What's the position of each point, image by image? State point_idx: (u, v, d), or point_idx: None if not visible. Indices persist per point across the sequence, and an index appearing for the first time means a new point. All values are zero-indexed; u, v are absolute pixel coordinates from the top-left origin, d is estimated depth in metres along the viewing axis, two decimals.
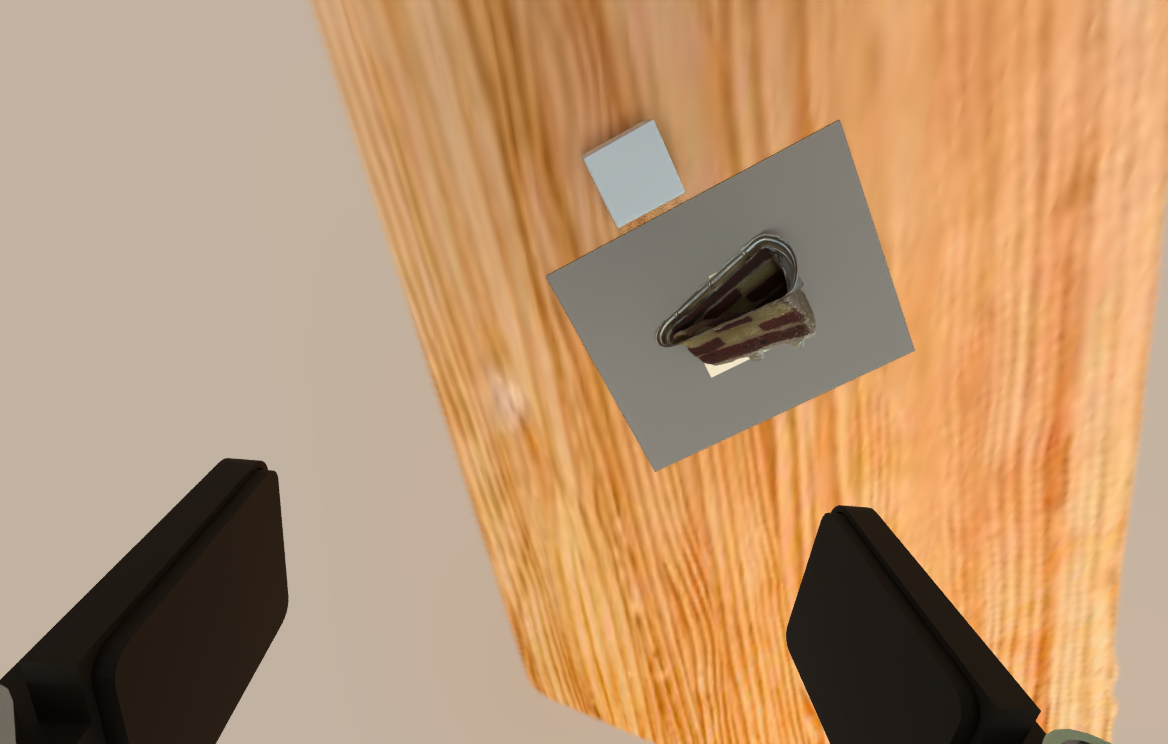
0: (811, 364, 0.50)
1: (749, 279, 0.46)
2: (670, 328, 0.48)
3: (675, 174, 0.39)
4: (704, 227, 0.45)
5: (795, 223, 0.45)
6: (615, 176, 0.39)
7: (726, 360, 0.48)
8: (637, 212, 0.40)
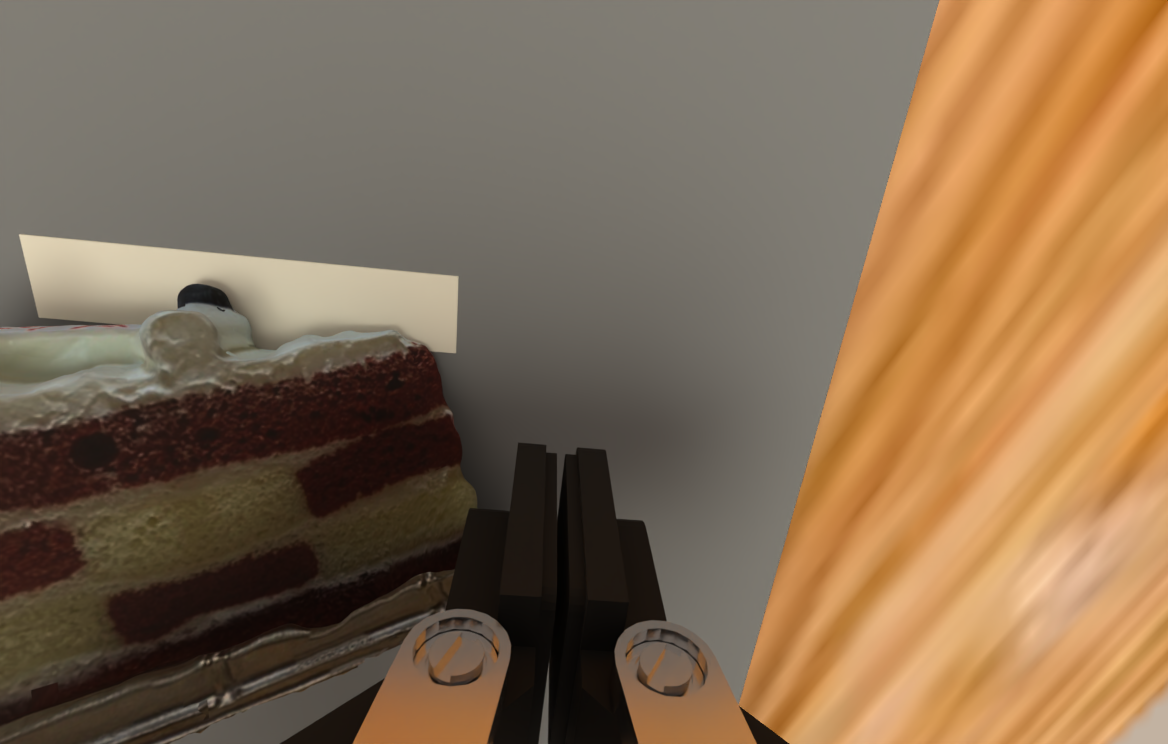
0: None
1: None
2: None
3: None
4: None
5: None
6: None
7: (333, 365, 0.11)
8: None
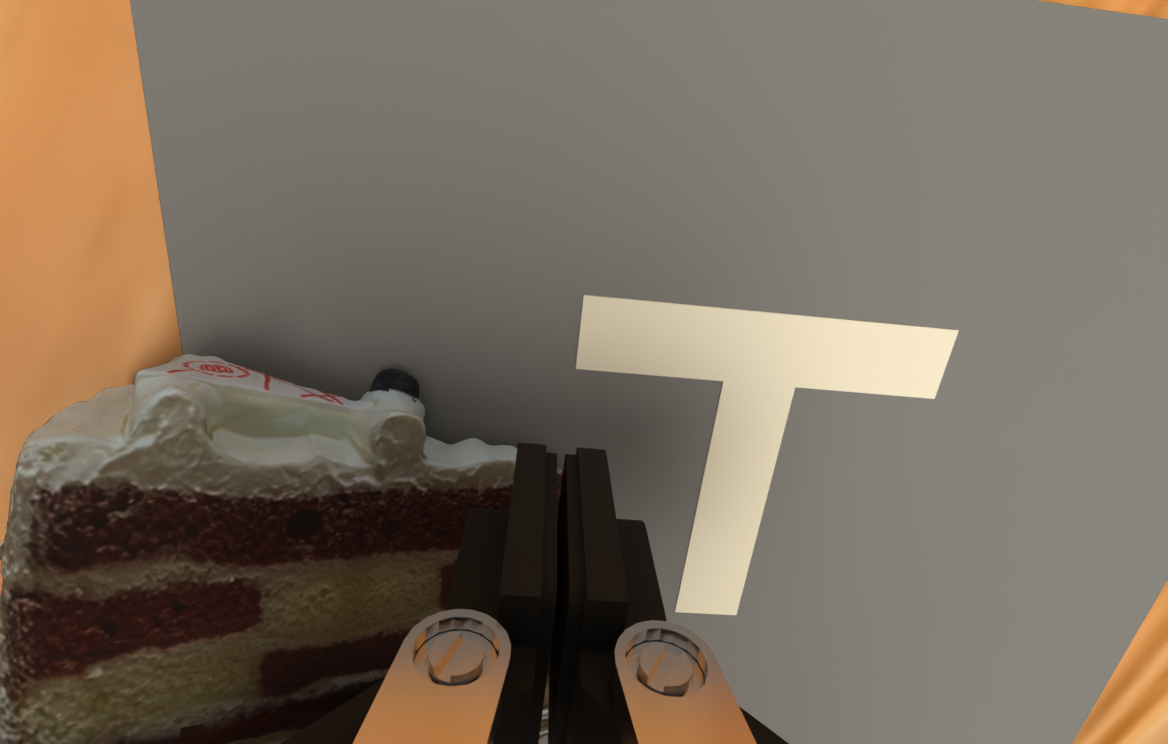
0: (607, 134, 0.11)
1: None
2: None
3: None
4: None
5: None
6: None
7: (501, 482, 0.12)
8: None
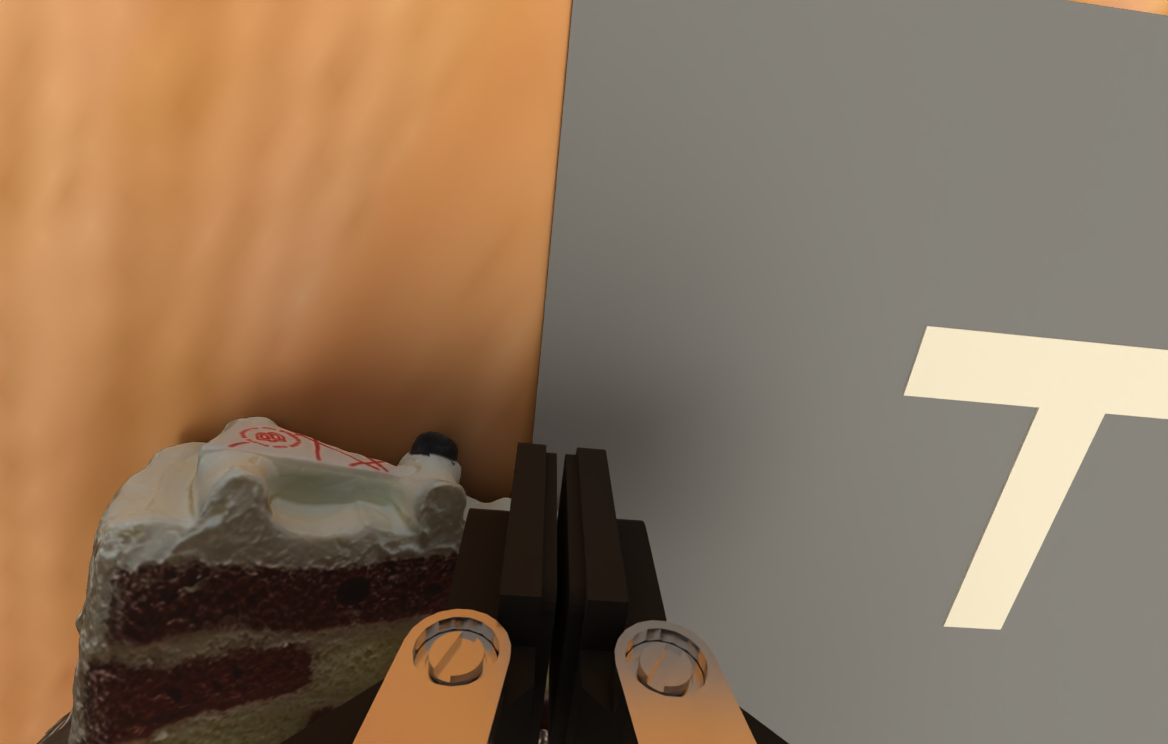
0: (979, 175, 0.12)
1: None
2: None
3: None
4: (911, 718, 0.17)
5: (720, 627, 0.16)
6: None
7: None
8: None
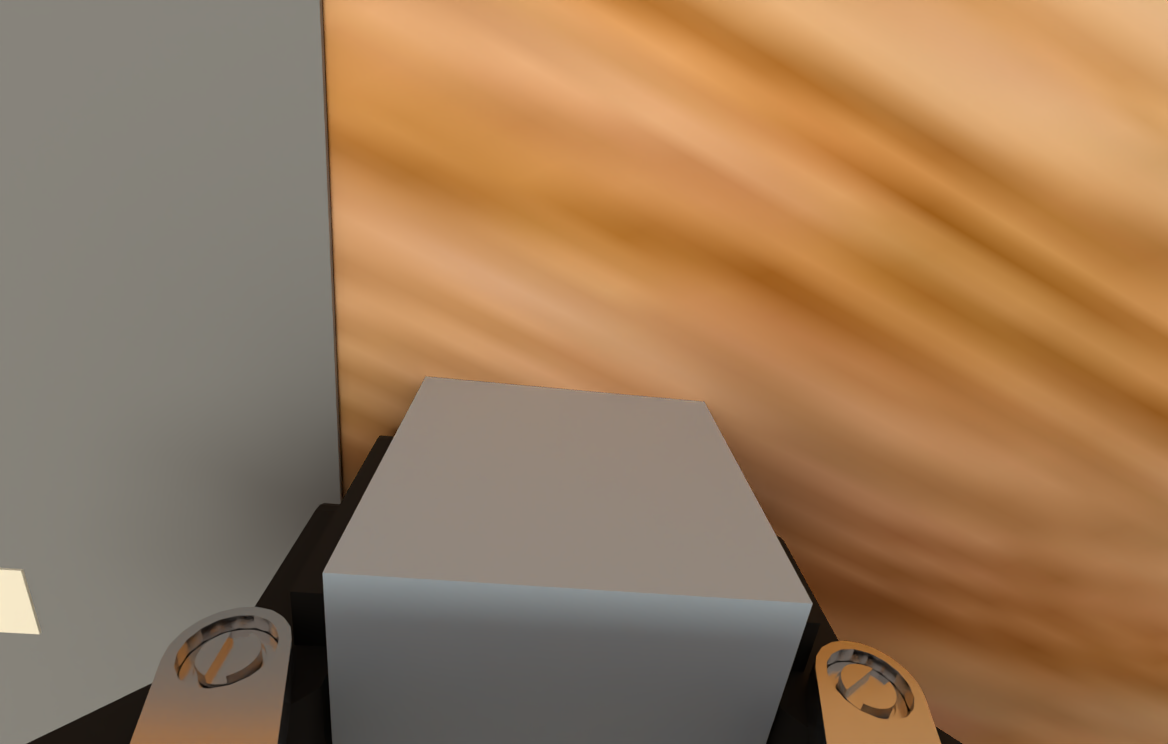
0: None
1: None
2: None
3: None
4: None
5: None
6: (615, 687, 0.07)
7: None
8: (363, 692, 0.06)
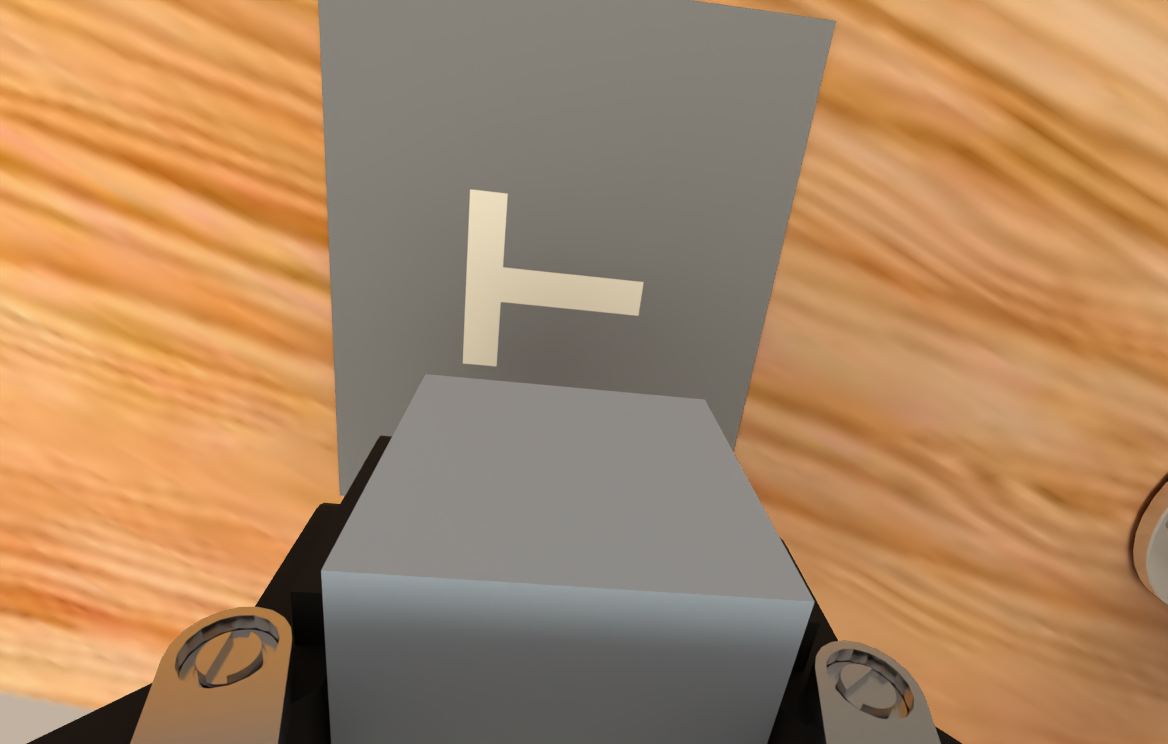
0: (398, 354, 0.28)
1: None
2: None
3: None
4: (713, 314, 0.28)
5: None
6: (615, 685, 0.07)
7: None
8: (362, 690, 0.06)
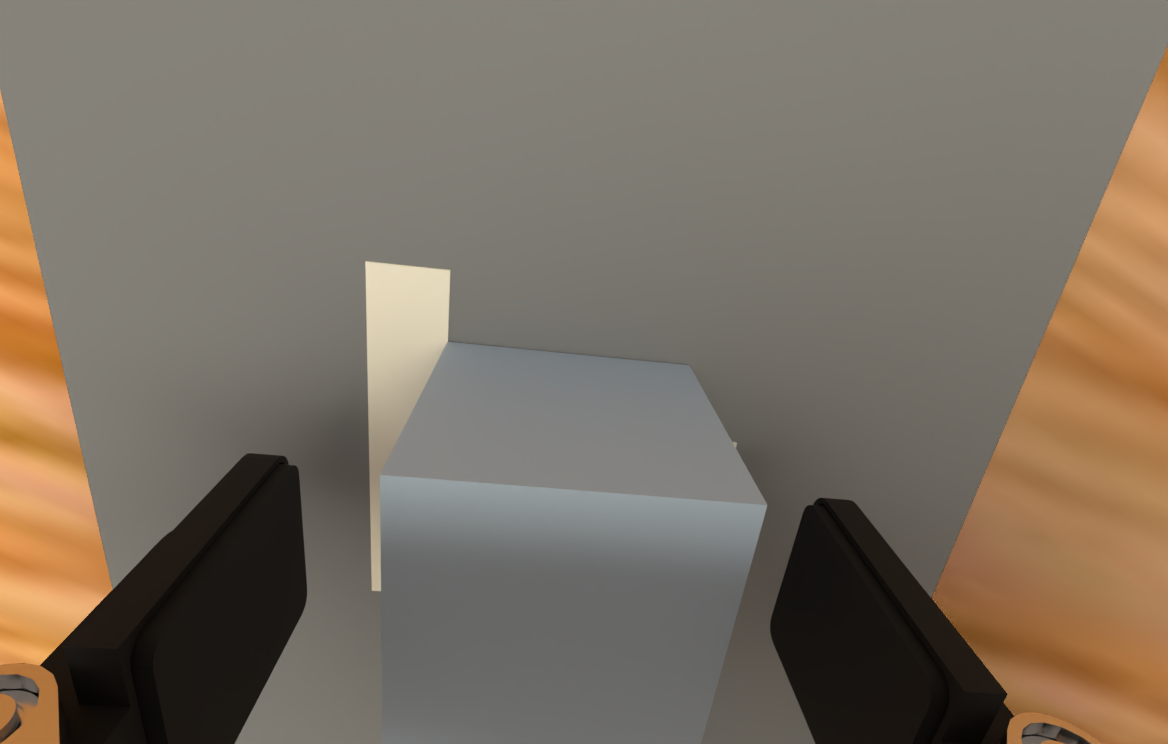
0: None
1: None
2: None
3: None
4: (870, 498, 0.14)
5: None
6: (610, 576, 0.08)
7: None
8: (407, 578, 0.08)
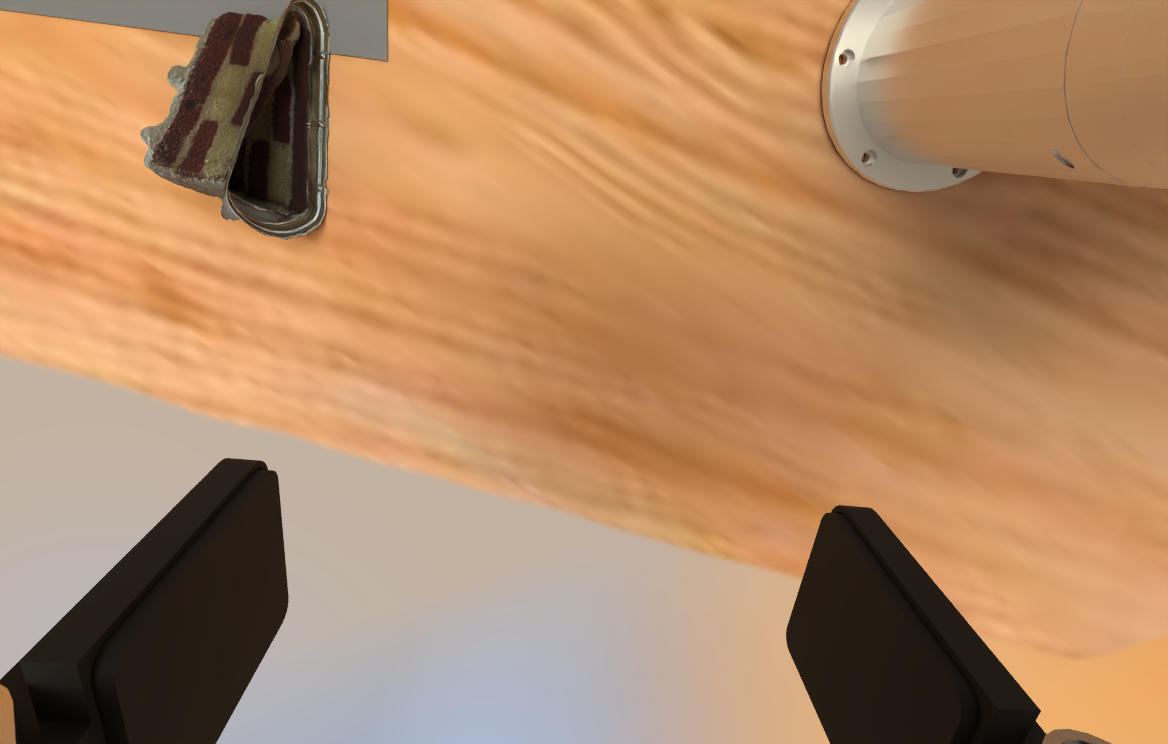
0: None
1: (284, 165, 0.33)
2: (312, 30, 0.31)
3: None
4: None
5: None
6: None
7: (205, 38, 0.30)
8: None
